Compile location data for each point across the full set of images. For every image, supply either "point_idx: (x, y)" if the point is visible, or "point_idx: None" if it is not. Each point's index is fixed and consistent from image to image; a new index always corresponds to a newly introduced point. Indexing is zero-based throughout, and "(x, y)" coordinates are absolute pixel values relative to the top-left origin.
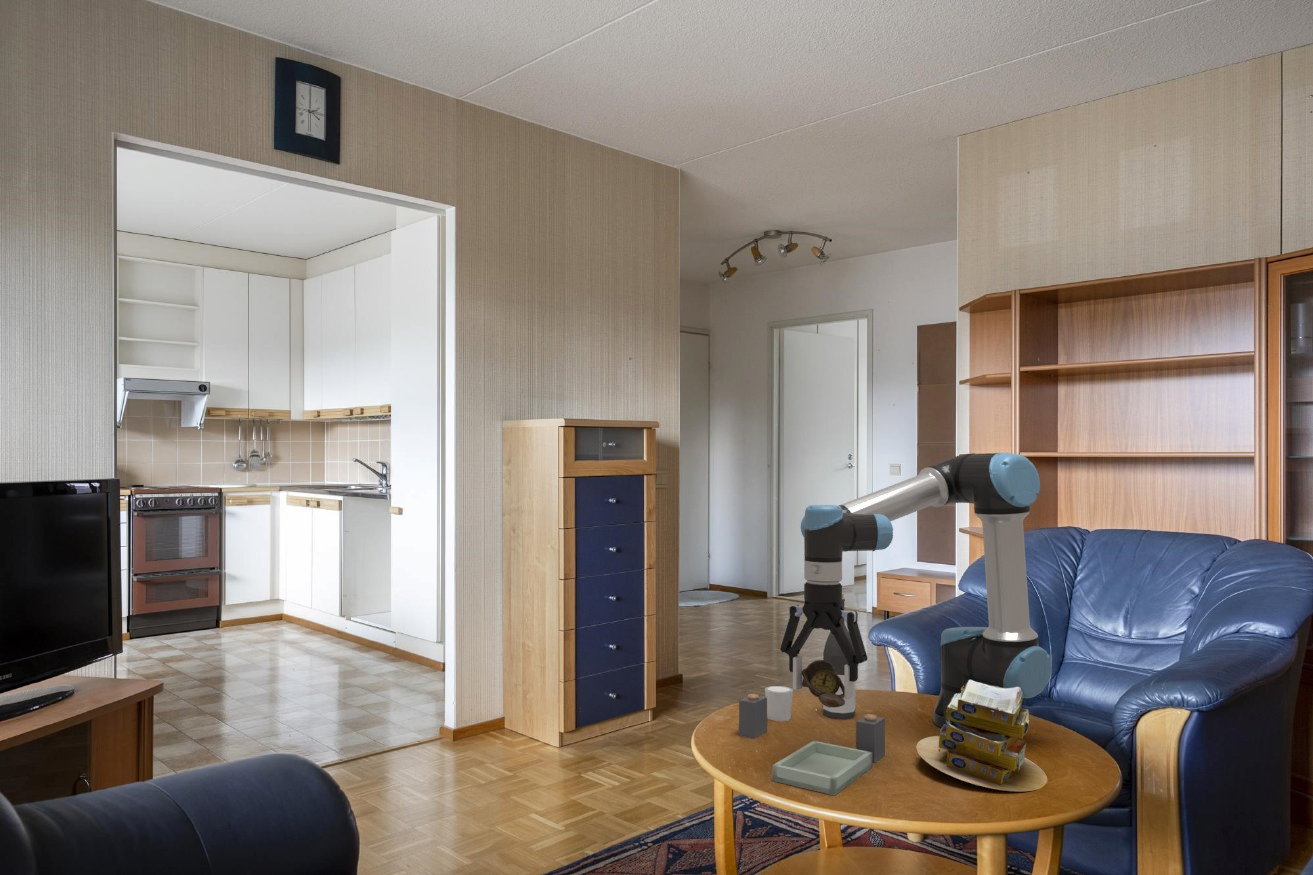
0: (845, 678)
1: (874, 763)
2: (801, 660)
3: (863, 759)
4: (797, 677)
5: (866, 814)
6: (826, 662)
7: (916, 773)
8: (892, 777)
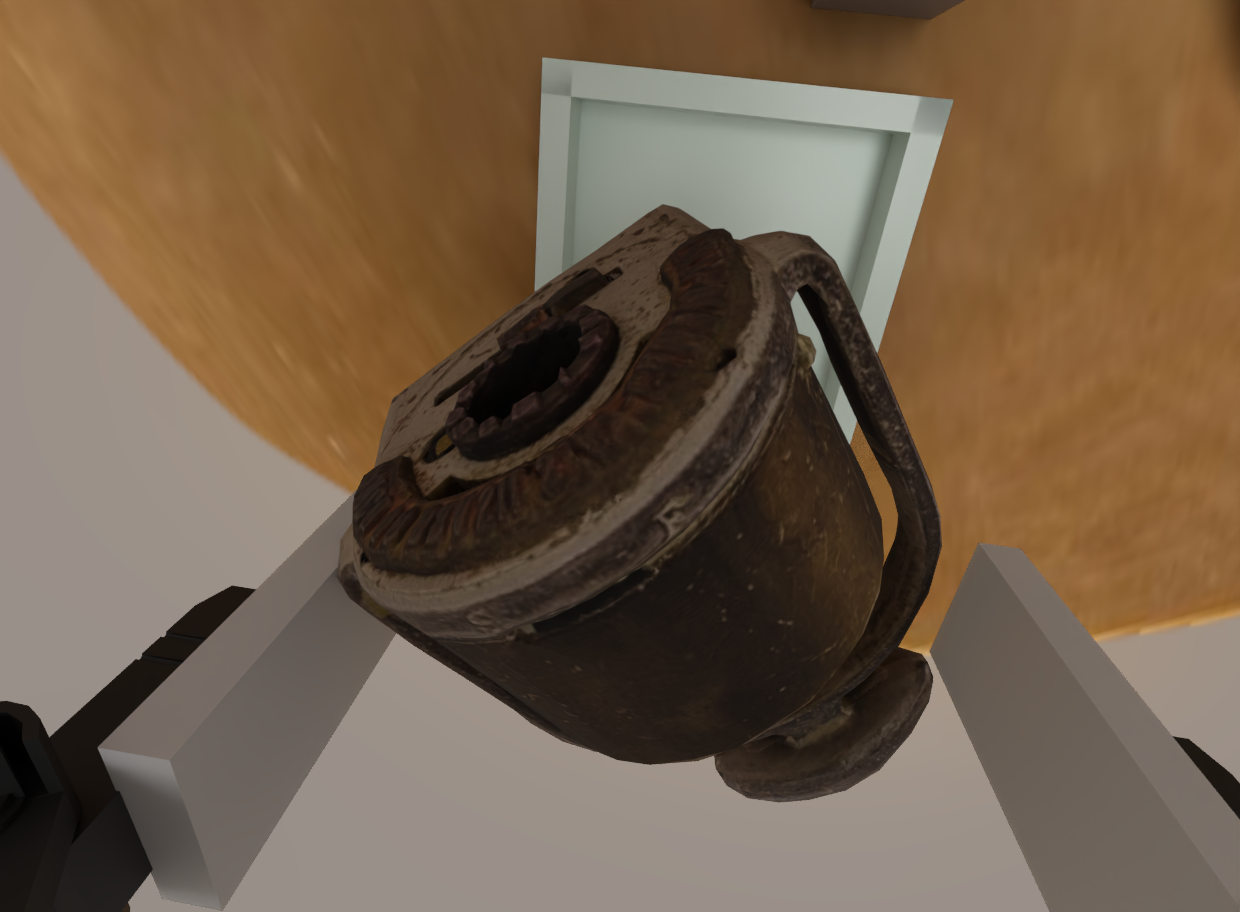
0: (1032, 844)
1: (931, 18)
2: (239, 709)
3: (904, 258)
4: (378, 637)
5: (931, 644)
6: (644, 562)
7: (1199, 70)
8: (1040, 220)
